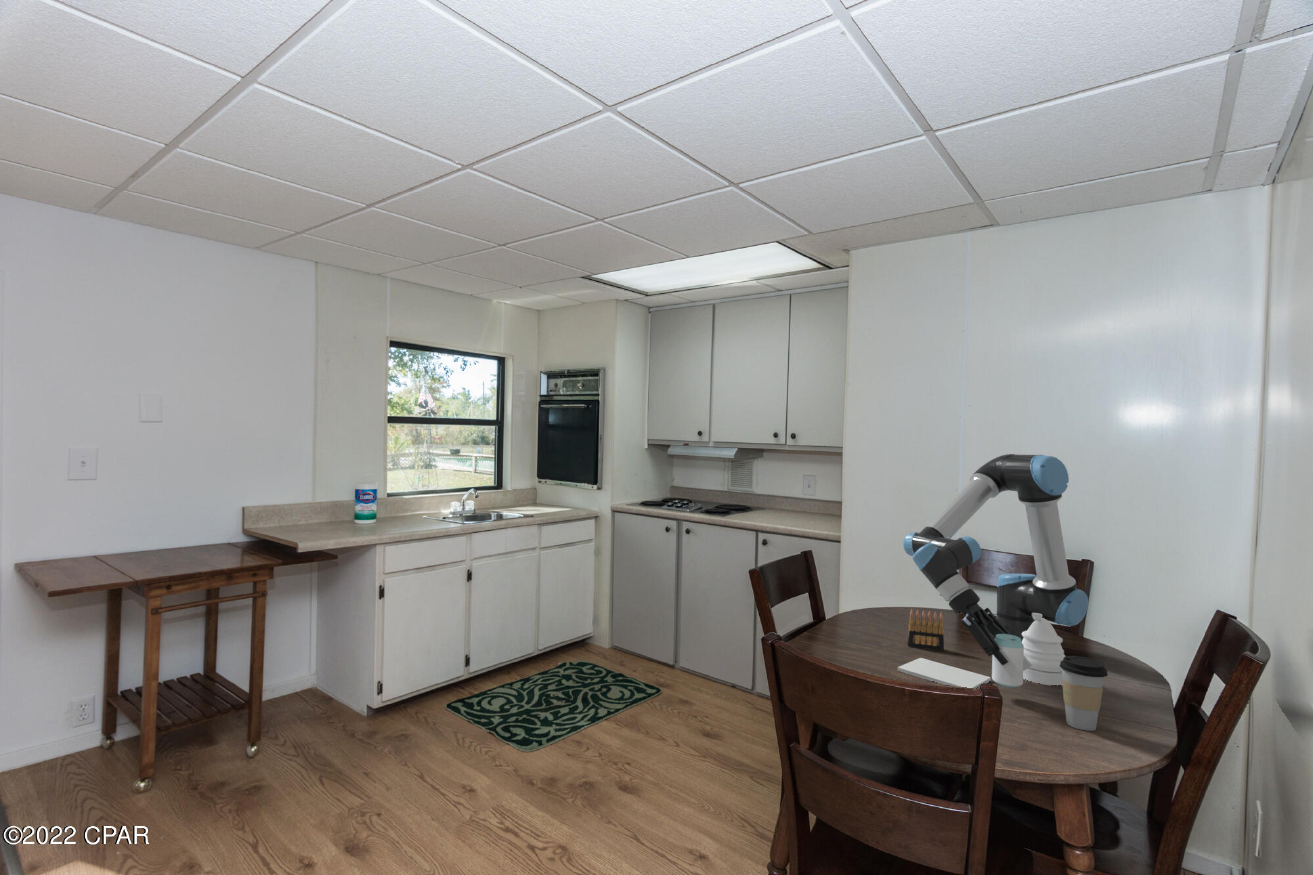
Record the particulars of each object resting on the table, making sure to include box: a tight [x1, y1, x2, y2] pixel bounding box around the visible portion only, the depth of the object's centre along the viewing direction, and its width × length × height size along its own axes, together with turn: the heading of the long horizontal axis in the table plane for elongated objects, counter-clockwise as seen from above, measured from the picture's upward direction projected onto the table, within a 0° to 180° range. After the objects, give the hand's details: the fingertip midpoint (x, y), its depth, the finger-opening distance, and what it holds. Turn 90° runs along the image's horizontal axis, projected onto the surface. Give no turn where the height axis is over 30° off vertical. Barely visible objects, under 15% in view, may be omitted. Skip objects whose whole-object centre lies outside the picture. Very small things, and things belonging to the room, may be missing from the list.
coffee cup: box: [1059, 655, 1109, 732], centre depth 150 cm, size 9×9×15 cm
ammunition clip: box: [906, 608, 945, 652], centre depth 205 cm, size 11×2×12 cm, turn 73°
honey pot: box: [1022, 613, 1066, 687], centre depth 182 cm, size 13×13×18 cm
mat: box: [897, 657, 992, 690], centre depth 180 cm, size 20×14×1 cm
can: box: [991, 634, 1024, 688], centre depth 165 cm, size 7×7×12 cm
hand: (1022, 671), depth 163 cm, fingers closed on can, 7 cm apart
